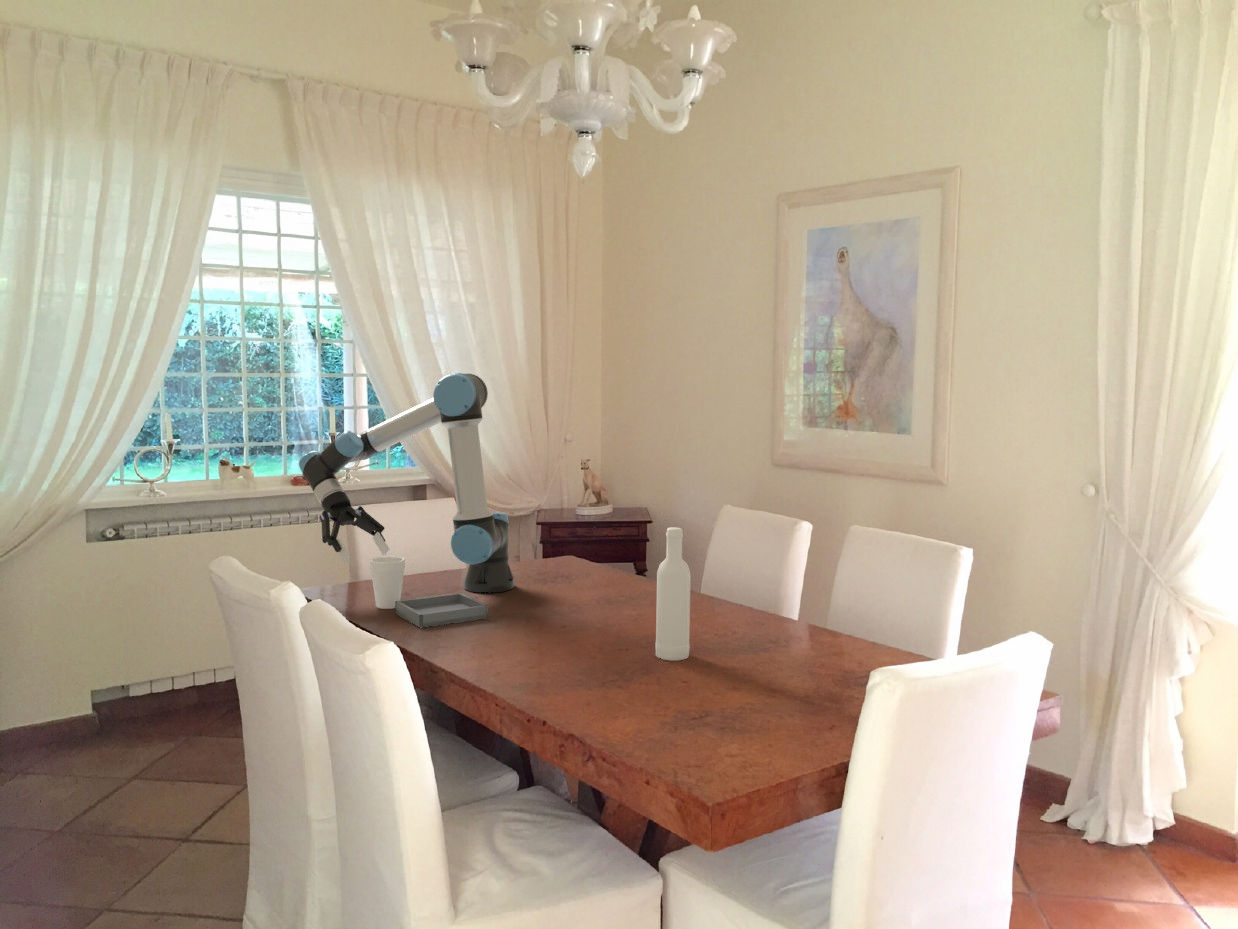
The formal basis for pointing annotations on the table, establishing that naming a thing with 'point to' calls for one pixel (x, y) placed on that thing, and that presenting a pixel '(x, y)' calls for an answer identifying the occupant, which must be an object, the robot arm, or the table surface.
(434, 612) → the tray
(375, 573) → the foam cup
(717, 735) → the table surface
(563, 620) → the table surface
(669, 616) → the bottle
